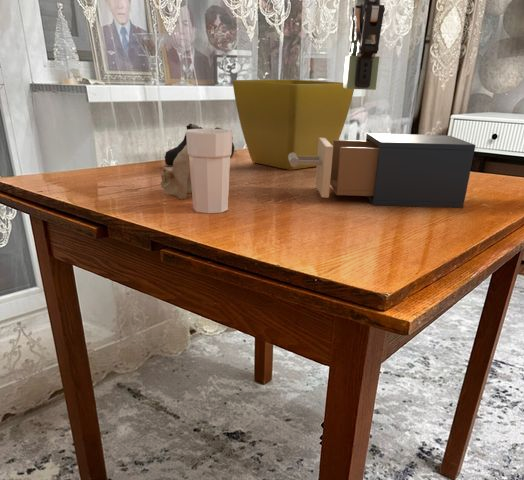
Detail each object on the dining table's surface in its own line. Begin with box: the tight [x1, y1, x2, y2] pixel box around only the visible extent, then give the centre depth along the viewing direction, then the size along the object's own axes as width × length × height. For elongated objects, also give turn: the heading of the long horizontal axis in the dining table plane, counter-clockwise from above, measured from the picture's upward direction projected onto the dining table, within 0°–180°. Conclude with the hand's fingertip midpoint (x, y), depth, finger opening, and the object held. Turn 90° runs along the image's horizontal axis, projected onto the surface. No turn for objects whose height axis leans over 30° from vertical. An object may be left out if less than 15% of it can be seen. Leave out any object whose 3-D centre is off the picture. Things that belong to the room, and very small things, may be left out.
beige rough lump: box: [160, 144, 192, 200], centre depth 88 cm, size 9×6×10 cm
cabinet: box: [365, 132, 476, 209], centre depth 90 cm, size 15×13×10 cm
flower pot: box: [232, 79, 355, 171], centre depth 118 cm, size 19×19×17 cm
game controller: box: [164, 123, 236, 167], centre depth 112 cm, size 16×7×10 cm, turn 43°
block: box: [342, 55, 380, 91], centre depth 82 cm, size 4×4×4 cm
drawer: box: [288, 138, 379, 199], centre depth 90 cm, size 19×11×8 cm, turn 90°
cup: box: [185, 128, 233, 214], centre depth 79 cm, size 7×7×11 cm
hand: (359, 86), depth 83 cm, fingers closed on block, 4 cm apart
